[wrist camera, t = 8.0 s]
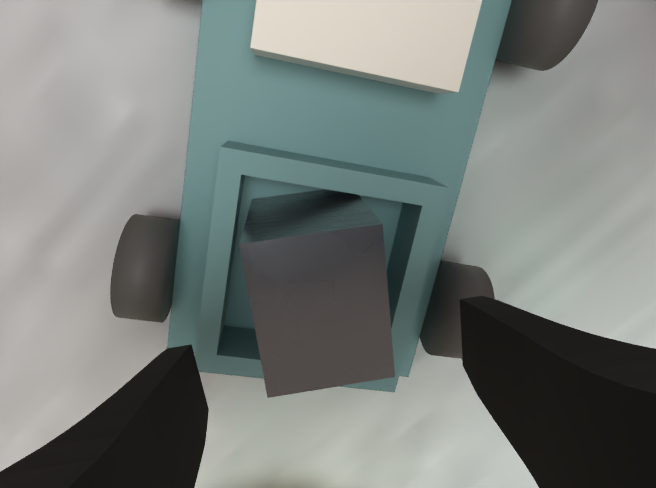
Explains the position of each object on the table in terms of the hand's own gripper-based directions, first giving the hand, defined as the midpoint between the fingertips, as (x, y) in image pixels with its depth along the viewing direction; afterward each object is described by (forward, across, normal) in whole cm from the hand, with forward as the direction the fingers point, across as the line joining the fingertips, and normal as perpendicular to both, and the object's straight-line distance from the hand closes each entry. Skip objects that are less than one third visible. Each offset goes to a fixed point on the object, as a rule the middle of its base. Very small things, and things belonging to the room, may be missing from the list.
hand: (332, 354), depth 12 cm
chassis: (+9, -2, -5) cm, 10 cm away
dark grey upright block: (+8, 0, 0) cm, 8 cm away
